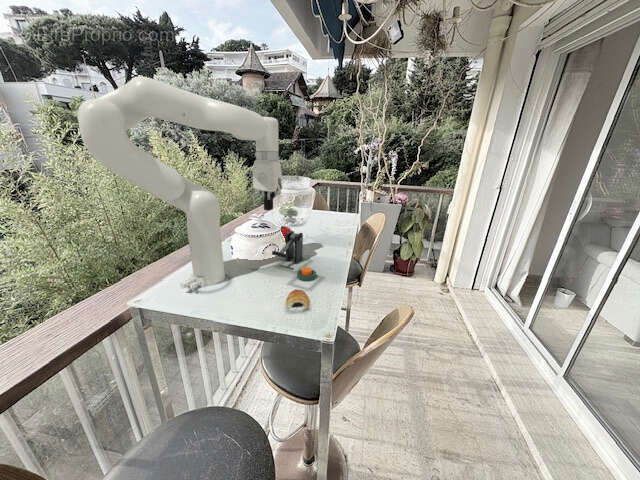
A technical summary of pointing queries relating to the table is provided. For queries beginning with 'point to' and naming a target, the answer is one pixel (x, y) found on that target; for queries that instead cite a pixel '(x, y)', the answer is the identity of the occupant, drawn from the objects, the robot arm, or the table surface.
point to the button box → (306, 278)
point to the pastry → (297, 299)
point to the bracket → (295, 247)
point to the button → (306, 271)
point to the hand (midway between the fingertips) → (268, 209)
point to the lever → (285, 247)
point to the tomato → (285, 231)
